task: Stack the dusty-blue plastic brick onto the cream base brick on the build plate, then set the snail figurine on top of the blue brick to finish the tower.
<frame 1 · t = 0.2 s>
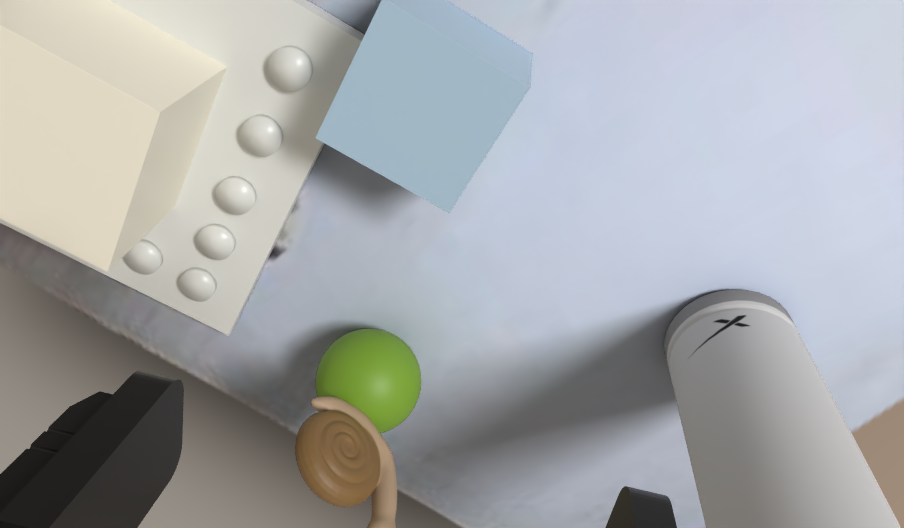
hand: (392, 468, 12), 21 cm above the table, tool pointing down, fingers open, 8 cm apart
base brick: (116, 97, 31), resting on build plate
blue brick: (436, 76, 30), on the table
travel mug: (723, 335, 35), on the table
snail figurine: (386, 352, 38), on the table
build plate: (162, 129, 33), on the table
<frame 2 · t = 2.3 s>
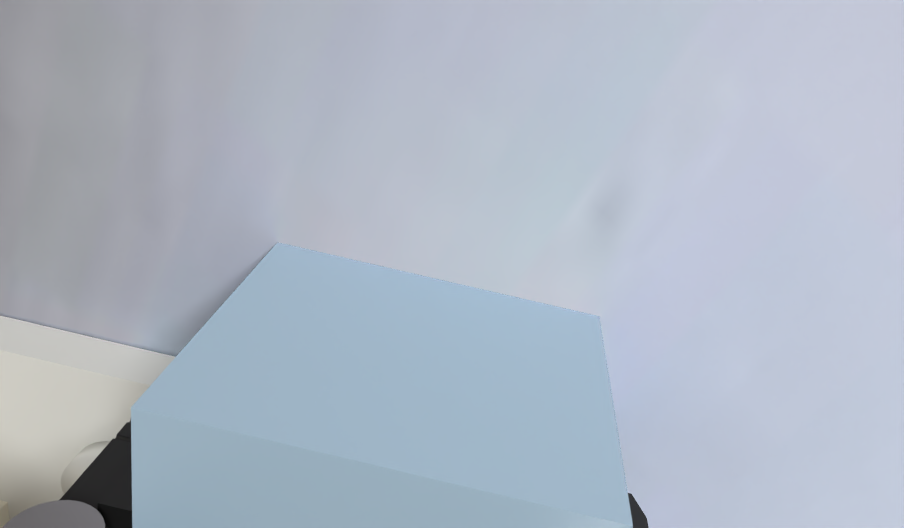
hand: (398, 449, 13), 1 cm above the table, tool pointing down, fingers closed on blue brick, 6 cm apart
blue brick: (410, 409, 14), on the table, touching gripper
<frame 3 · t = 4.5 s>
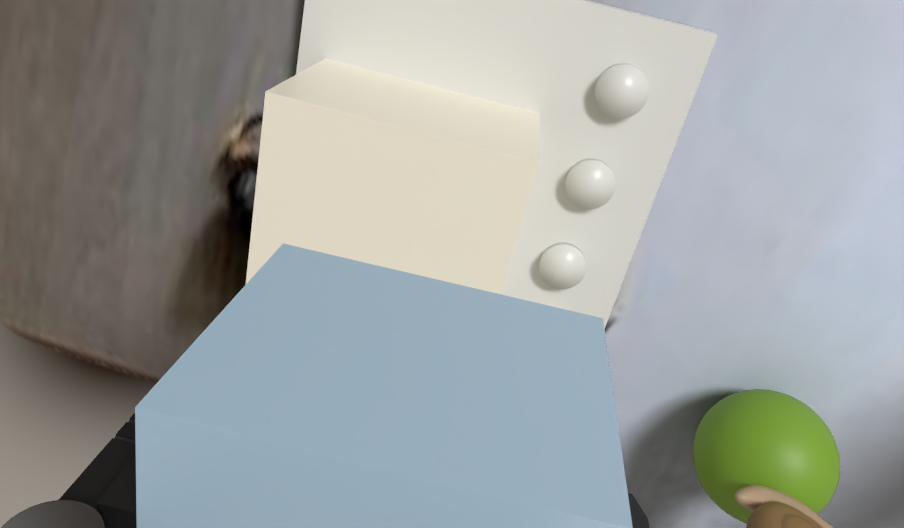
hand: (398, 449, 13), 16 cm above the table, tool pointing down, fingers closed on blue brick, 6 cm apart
base brick: (410, 187, 27), resting on build plate
blue brick: (414, 410, 14), point 15 cm above the table, touching gripper
snail figurine: (753, 417, 31), on the table
build plate: (457, 214, 28), on the table
when the fingers open (9 cm above the table, at t = 6.4 s): blue brick stays where it is, resting on base brick.
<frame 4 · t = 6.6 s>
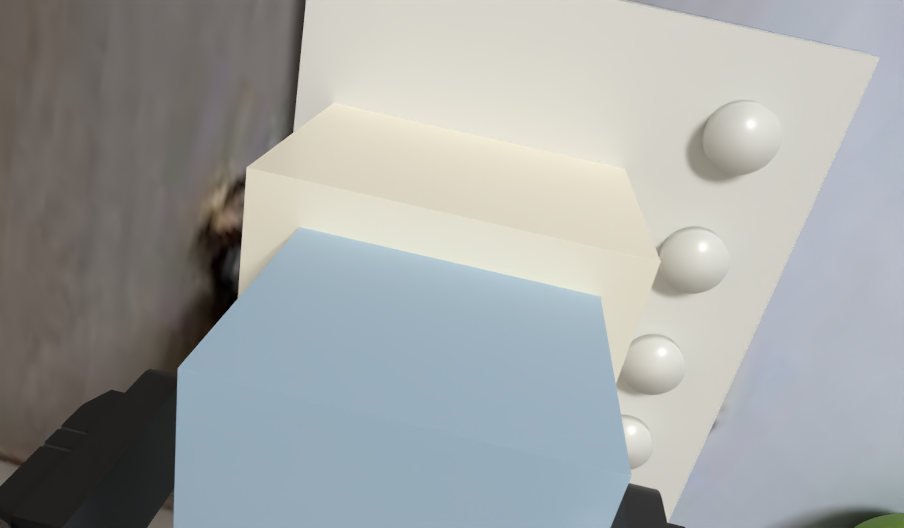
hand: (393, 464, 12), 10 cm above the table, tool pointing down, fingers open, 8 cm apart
base brick: (449, 267, 20), resting on build plate
blue brick: (422, 385, 15), point 7 cm above the table, touching base brick
build plate: (509, 296, 21), on the table
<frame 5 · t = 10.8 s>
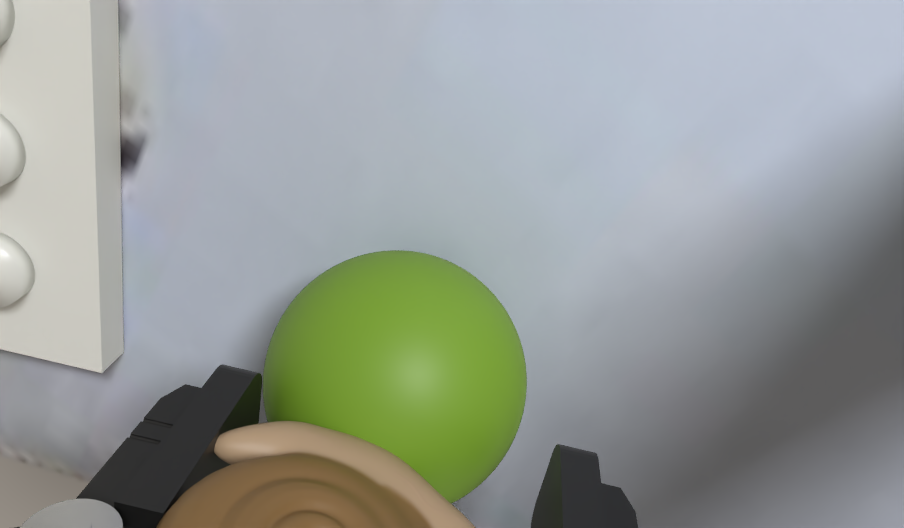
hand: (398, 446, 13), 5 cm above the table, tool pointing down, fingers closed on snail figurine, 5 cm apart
snail figurine: (435, 321, 17), on the table, touching gripper
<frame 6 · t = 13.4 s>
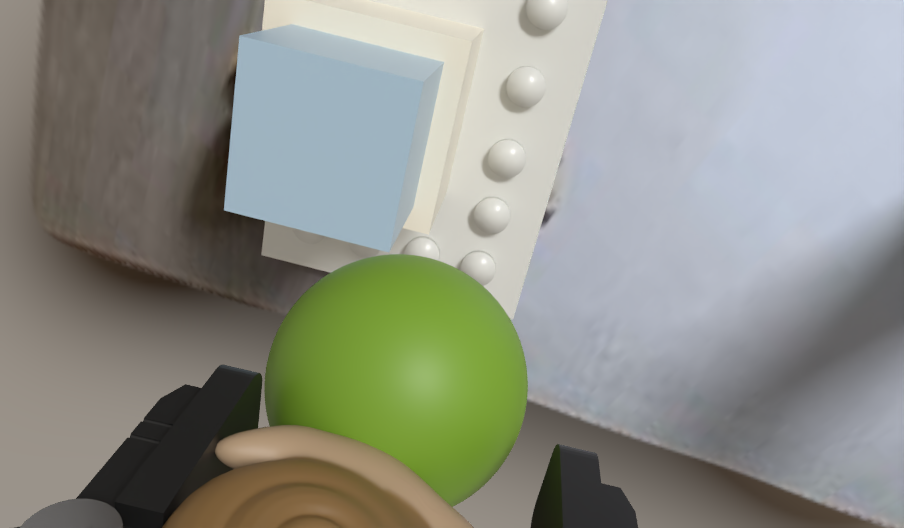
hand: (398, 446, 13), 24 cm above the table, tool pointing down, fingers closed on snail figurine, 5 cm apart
base brick: (383, 94, 33), resting on build plate
blue brick: (355, 119, 27), point 7 cm above the table, touching base brick
snail figurine: (436, 324, 17), point 19 cm above the table, touching gripper
build plate: (422, 120, 34), on the table
when the fingers open (18 cm above the table, at t = 15.8 s): snail figurine drops 1 cm, resting on blue brick.
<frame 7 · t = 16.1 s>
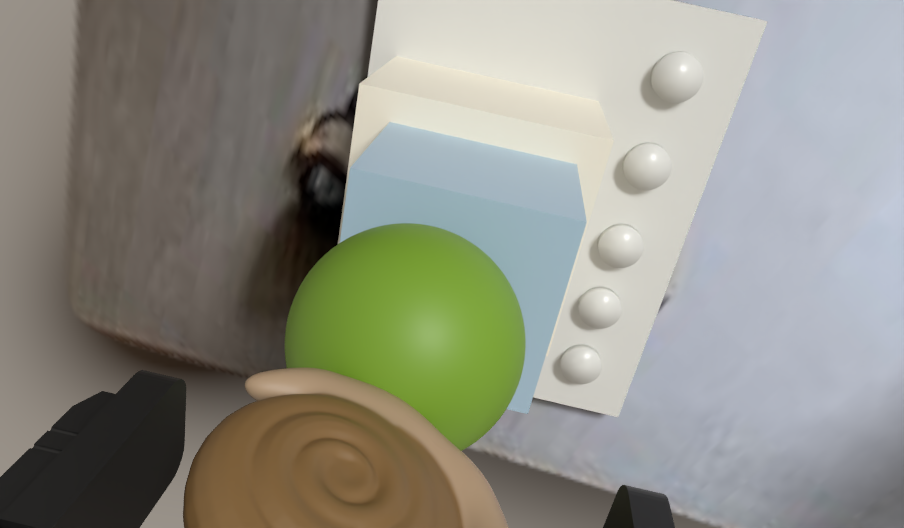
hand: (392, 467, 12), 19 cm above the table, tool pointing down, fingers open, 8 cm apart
base brick: (475, 175, 28), resting on build plate
blue brick: (463, 229, 23), point 7 cm above the table, touching base brick, snail figurine
snail figurine: (441, 294, 18), point 12 cm above the table, touching blue brick
build plate: (518, 200, 29), on the table
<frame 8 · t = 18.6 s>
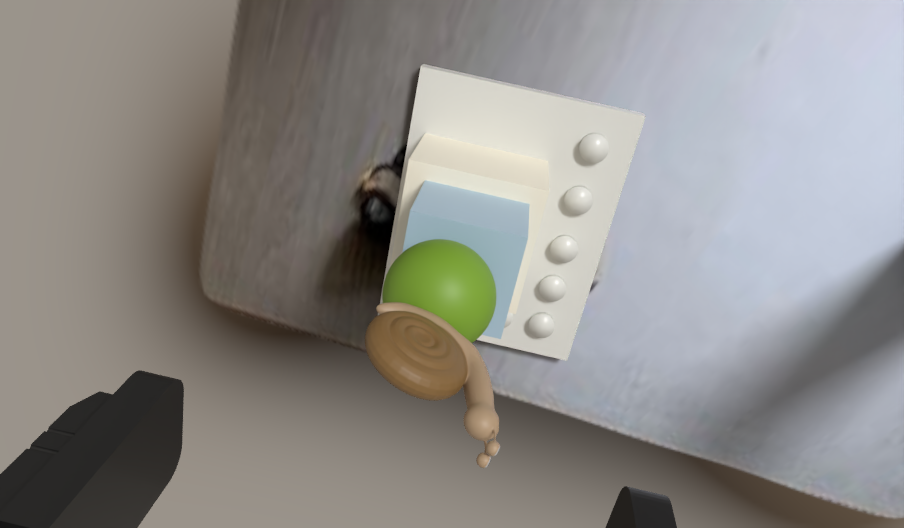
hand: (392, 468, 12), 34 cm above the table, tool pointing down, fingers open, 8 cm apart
base brick: (473, 205, 45), resting on build plate
blue brick: (466, 239, 40), point 7 cm above the table, touching base brick, snail figurine
snail figurine: (455, 274, 35), point 12 cm above the table, touching blue brick
build plate: (500, 220, 46), on the table
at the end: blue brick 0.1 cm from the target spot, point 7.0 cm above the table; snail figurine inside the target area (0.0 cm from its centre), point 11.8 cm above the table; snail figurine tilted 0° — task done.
